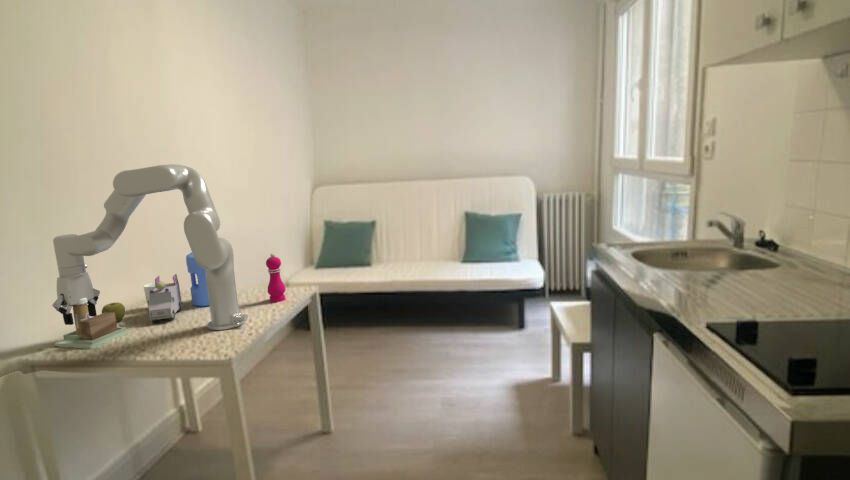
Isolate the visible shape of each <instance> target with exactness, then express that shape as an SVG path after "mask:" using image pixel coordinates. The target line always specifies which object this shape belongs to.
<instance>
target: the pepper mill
mask: <svg viewBox="0 0 850 480" xmlns="http://www.w3.org/2000/svg"><path fill="white" fill-rule="evenodd" d="M275 255H276V254H275V253H274V252H273V253H270V257H268V258H267V259H266V261H265V266H266V268H268V269H267V272H268V273H269V283H268V286H267V294H268V295H269V302H271V303H278V302H280V303H281V302H282V301H285V300H286V295H285V292H286V286H285V284H284V282H283V280H282V278H281V266H282V260H281V258H279V257H277V256H275Z"/></svg>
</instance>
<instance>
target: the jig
mask: <svg viewBox="0 0 850 480" xmlns="http://www.w3.org/2000/svg"><path fill="white" fill-rule="evenodd" d="M117 329H118V330H117V331H114V332H112V333H109V334H107V335H105V336H102V337H100V338H97V339H95V340H92V341H90V340H83V337H82V335H77V331H76V330H74V331H71V332H68V333H66V334H64V335H62V338H63V339H62V340H60V341H57V342H54V343H53V344H54V347H55V346H61V347H60V348H68V347H74V348H73V349H88V350H89V349H90V350H91V349H94V348H96V347H99V346H101V345H104V344H105V343H108V342H110V341H113V340H115V339H117V338H120V337H121V336H125V335H126V334H129V329H127V327H123V326H117Z"/></svg>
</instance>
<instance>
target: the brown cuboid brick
mask: <svg viewBox="0 0 850 480" xmlns="http://www.w3.org/2000/svg"><path fill="white" fill-rule="evenodd" d="M80 326H81V332H82V337H83V340H90V341H92V340H95V339H97V338H100V337H102V336H105V335H107V334H109V333H112V332H114V331H117V330H118V329H117V327H118V324H117V322H116V317H115V313H111V312H105V313H102V312H101V313H100V314H97V316H90V318H89V319H86V320H83V321H80Z"/></svg>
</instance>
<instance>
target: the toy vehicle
mask: <svg viewBox="0 0 850 480" xmlns="http://www.w3.org/2000/svg"><path fill="white" fill-rule="evenodd" d="M172 280H173V282H171V283H165V282H164V281H161V280H160V275H157V276H156V278H154V283H155V287H156V288H155V289H154V290H151V291H150V293H149V297H150V303H149V300H147V301H146V303H147V302H148V304H147V306H148V305H149V304H150V307H149V309H148V316H149V321H151V322H152V323H157V322H158V320H163V319H164V320H165V319H168V320H169V321H174V320H175V319H176V318H175V317H176V313H179V312H181V309H182V306H183V301H182V296H181V289H180V282H179V280H178V275H177V273H175V274H174V275H173V276H172ZM163 282H164V283H165V284H164V283H163Z"/></svg>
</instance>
